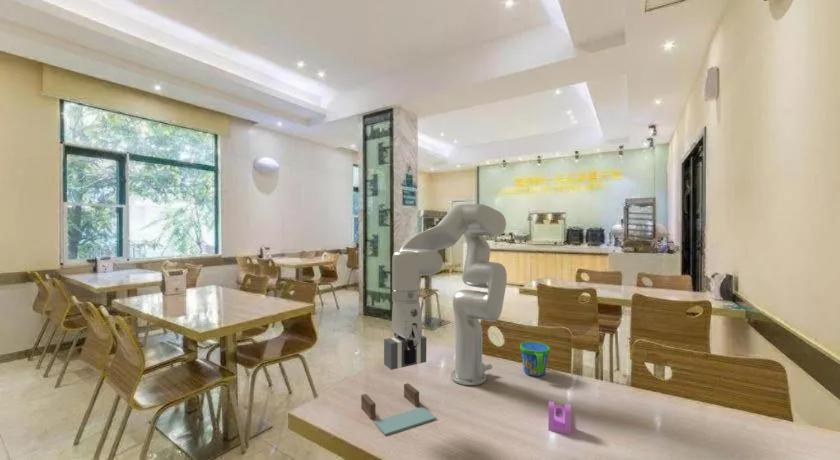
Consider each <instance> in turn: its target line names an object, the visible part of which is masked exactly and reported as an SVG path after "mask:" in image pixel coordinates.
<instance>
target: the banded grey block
mask: <svg viewBox="0 0 840 460" xmlns="http://www.w3.org/2000/svg"><path fill="white" fill-rule="evenodd" d="M410 337H412V335H411V336H410ZM410 342H412V340H409V344H410ZM405 350H406V345H405V338H403V337H401V336H400V337H395V336H393V337H390V338H389V337H388V338H385V339H383V365H384V366H386V367H387V368H388V369H390V370H391V371H393V370H397V369H401V368H406V367H410V366H415V365H419V364H423V363H424V364H425V363H427V336H425V335H423V334H422V336H421V337H420V343H419V344H418V345H417V348H416V362H415V363H412V364H408V365H406V364H405V363H404V354H405Z"/></svg>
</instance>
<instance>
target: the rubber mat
mask: <svg viewBox="0 0 840 460" xmlns="http://www.w3.org/2000/svg"><path fill="white" fill-rule="evenodd" d="M435 420H437V417H436V415H434V414H433V413H432V412H430V410H428V409H427V408H426V407H424V406H422V407H417V408H415V409H414V408H413V409H411V410H407V411H405V412H404V411H403V412H401V413H397V414H394V415H391V416H390V415H389V416H387V417H384V418H380V419H376V420H374V421H373V422H374V423H373V424H374V425H375V426H376V427H377V428H378V429H379V430H380V432H381V433H382V435H384V436H388V435H391V434H394V433H397V432H401V431H404V430H406V429H410V428H413V427H416V426H418V425H419V426H420V425H423V424H426V423H428V422H432V421H435Z"/></svg>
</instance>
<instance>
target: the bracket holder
mask: <svg viewBox="0 0 840 460" xmlns="http://www.w3.org/2000/svg"><path fill="white" fill-rule="evenodd" d="M360 396H361V398H360V400H361V409H362V411H363V412H364V413H365V414H366V415H367V416H368V418H369V419H370V420H372V419H375V418H376V409H377V408H376V402H375V401H374V400H373V399H372V398H371V397H370V395H368V394H367V393H364V394H361V395H360ZM403 397H404V399H406V400H407V401H408V402H410V403H411V404H412V405H413V406H414V407H416V406H419V405H420V391H419V390H417V388H415V387H414V386H412V384H410V383H409V382H407V383H404V384H403Z"/></svg>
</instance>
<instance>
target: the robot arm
mask: <svg viewBox="0 0 840 460" xmlns="http://www.w3.org/2000/svg"><path fill="white" fill-rule="evenodd" d="M506 220H507V219H506V217H505V215H504V214H503V212H501V211H499V210H497V209H495V208H493V207H491V206H489V205H486V204H480V203H474V204H473V203H469V204H458V205H455V206H454V207H452V208H451V209H450V210H449V211H448V213H447V214H445V216H444V217H443V218H442V219H441V220H440V221H439V222H438V223H437V224H436V225H435V226H433V227H430V228H428V229H426V230H425V231H421V232H420V233H417V234H416V235H414V236H413V237H411V238H409V240H408V241H406V242H405V243H404V244H403V245H402V247H401V248H400V249H399V250H398V251H395V252H394V253H393V254H392V259H391V260H392V261H391V262H392V263H391V264H392V269H391V271H392V272H391V276H392V277H391V278H392V281H391V283H392V284H391V285H392V286H391V291H392V292H391V300H392V310H391V311H392V312H391V329H392V332H393V337H400V336H401V337H403V338H405V345H406V350H405V354H404V363H405V364H406V365H408V364H412V363H415V362H416V348H417V345H418V344H419V343H420V337H421V336H422V335H423V321H422V318H423V317H422V309H421V304H420V276H434V275H436V274H437V273H439V272H440V270H441V269H442V266H443V257H442V255H441V254H440V253H439V252H438V251H440V250H444V249H447V248H451V247H453V246H455V244H456V243H457V242H458V241H459V240H460V238H461V237H462V236H464V238H465V241H466V245H467V247H466V254H465V255H466V256H465V261H464V265H463V271H462V282H463V283H464V285H466V286H468V287H471V288H472V287H473V288H480V289H486V290H487V291H481V290H474V289H473V290H472V289H461V290H458V291H457V292H456V293H455V294H454V296H453V299H452V308H453V313H454V315H453V316H454V323H455V337H454V338H455V341H454V343H455V346H454V347H455V350H454V351H455V352H454V354H455V355H454V358H455V361H454V362H455V363H454V365H455V366H454V367H455V368H454V370H453V371H451V373H450V378H451V381H453V382H455V383H457V384H459V385H463V386H478V385H482V384H483V383H486V381H487V375H486V373H485V372H487V371H488V370H489V371H490V370H492V369H493V365H492V364H491V363H487V364H485V363H484V362H483V327H482V324H481V322H480V320H483V321H487V322H495V321H497V320H499V318H500V317H501V315H502V311H503V306H504V300H505V296H506V295H505V293H506V288H507V280H508V279H507V278H508V277H507V275H508V274H507V270H506V268H505V266H504V265H503V264H502V263H500V262H494V261H493V262H492V261H490V256H491V248H490V244H489V242H487V239H486V238H485V236H490V237H491V236H494V237H497V236H502V234H503V233H504V232H505V230H506V227H507V221H506ZM411 335H412V337H410V336H411ZM409 340H412V342H410V344H409Z"/></svg>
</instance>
